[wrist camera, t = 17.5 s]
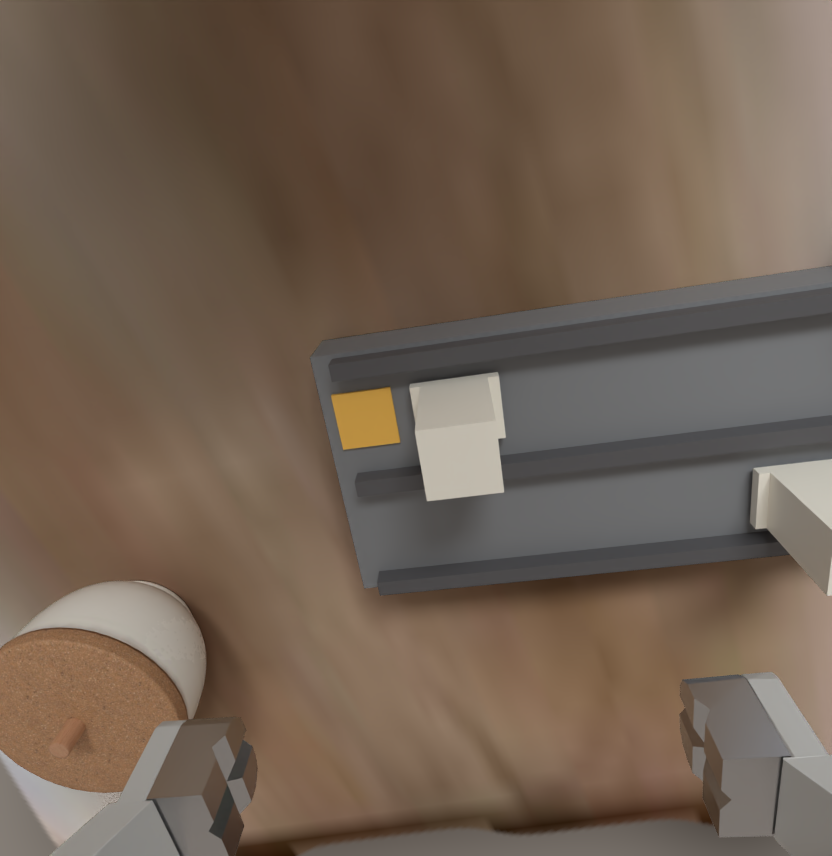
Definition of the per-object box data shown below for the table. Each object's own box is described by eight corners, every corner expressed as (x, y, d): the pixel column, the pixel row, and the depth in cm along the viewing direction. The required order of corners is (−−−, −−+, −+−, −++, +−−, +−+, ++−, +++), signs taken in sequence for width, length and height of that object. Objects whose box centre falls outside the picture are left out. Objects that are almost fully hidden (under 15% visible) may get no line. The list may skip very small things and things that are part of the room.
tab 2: (753, 468, 28) (820, 534, 23) (843, 457, 28) (933, 522, 23) (749, 522, 29) (813, 596, 24) (836, 513, 29) (920, 587, 24)
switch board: (322, 340, 30) (305, 364, 27) (921, 252, 27) (995, 265, 24) (370, 555, 35) (361, 600, 32) (882, 501, 32) (938, 543, 29)
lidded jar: (138, 517, 35) (36, 629, 26) (266, 634, 38) (213, 769, 29) (27, 605, 38) (-96, 732, 29) (154, 707, 41) (76, 850, 32)
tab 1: (410, 383, 27) (401, 432, 22) (497, 371, 27) (509, 418, 22) (420, 443, 29) (414, 503, 23) (504, 432, 28) (517, 490, 23)
